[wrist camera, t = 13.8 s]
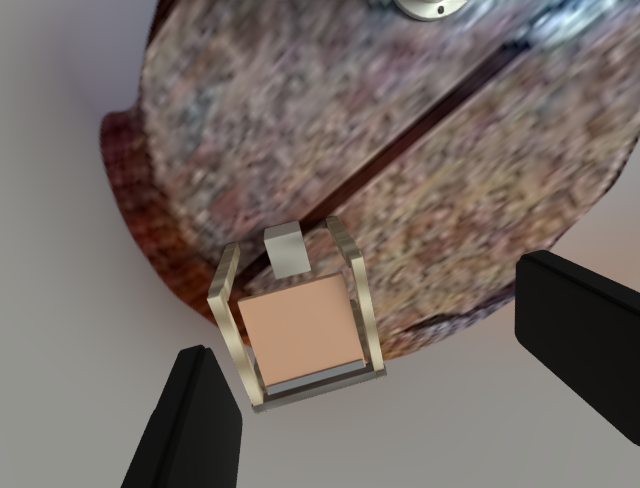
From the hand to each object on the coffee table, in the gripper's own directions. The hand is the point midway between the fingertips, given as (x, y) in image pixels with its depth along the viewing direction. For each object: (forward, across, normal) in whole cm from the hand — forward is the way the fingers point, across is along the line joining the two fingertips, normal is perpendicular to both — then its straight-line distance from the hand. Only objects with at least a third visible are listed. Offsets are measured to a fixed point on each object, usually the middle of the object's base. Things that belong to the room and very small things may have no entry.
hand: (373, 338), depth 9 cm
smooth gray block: (+34, +4, +13) cm, 36 cm away
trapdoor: (+23, +4, +16) cm, 28 cm away
